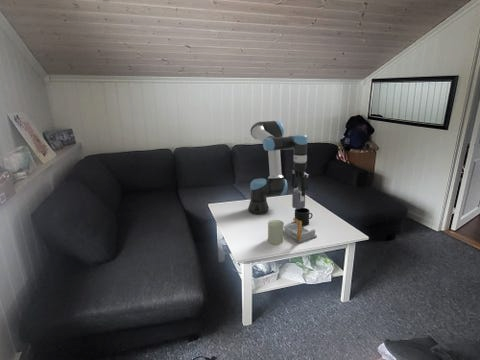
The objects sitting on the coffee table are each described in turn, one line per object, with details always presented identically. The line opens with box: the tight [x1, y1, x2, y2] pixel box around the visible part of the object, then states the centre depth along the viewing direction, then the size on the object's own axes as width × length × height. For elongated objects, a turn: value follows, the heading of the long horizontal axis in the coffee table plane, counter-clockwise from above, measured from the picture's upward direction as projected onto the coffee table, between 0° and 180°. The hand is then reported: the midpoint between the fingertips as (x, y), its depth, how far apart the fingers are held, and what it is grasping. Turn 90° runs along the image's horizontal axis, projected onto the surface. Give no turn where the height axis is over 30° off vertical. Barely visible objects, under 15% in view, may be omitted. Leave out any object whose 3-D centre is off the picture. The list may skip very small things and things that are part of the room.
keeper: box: [283, 217, 318, 244], centre depth 178 cm, size 16×14×14 cm
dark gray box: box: [291, 189, 306, 210], centre depth 177 cm, size 5×6×10 cm
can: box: [267, 219, 285, 246], centre depth 172 cm, size 9×9×12 cm
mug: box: [293, 207, 313, 227], centre depth 195 cm, size 9×12×9 cm
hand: (298, 199), depth 177 cm, fingers closed on dark gray box, 5 cm apart
